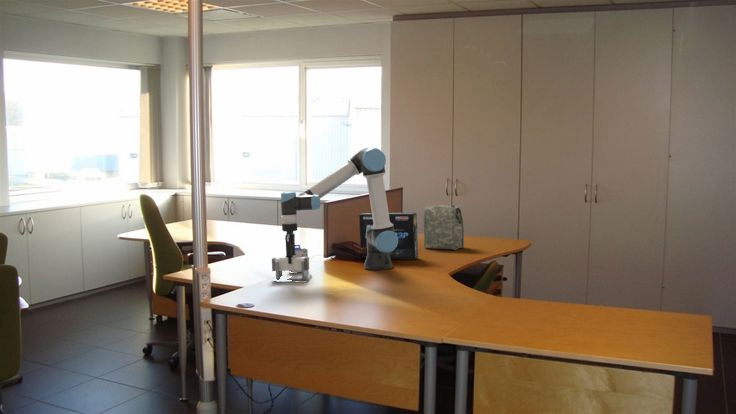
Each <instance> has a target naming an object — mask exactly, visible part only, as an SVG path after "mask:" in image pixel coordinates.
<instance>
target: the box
mask: <svg viewBox="0 0 736 414" xmlns="http://www.w3.org/2000/svg"><path fill="white" fill-rule="evenodd" d="M417 216H418V215H417V212H389V219H390V222H391V223H392V224H393V226H394V232H395V234H396V235H397V237H398V244H397V247H396V248H395V249H394V250H393V251H391V252H389V255H390V258H391V260H411V261H413V260H417V258H419V242H418V241H419V240H418V221H417V220H418V219H417ZM358 217H359V218H358V219H359V220H358V221H359V240H360V241H359V243H360V248H361V247H364V248H367V236H366V228H367V226H373V217H372V212H362V213H359V215H358Z"/></svg>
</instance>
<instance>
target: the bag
mask: <svg viewBox="0 0 736 414" xmlns="http://www.w3.org/2000/svg"><path fill="white" fill-rule="evenodd" d="M462 215H463V214H462V210H461V208H460V207H459V206H456V205H454V204H453V205H443V204H440V205H429V206H428V205H427V206H425V208H424V211H423V217H422V218H423V220H422V221H423V234H424V235H423V237H424V238H423V239H424V240H423V245H424V246H423V248H424V249H426V248H427V249H434V250H435V249H436V250H451V251H452V250H454V251H457V250H458V249H462V248H463V249H464V248H465V245H464V239H465V237H464V235H465V232H464V221H463V219H464V218H463V216H462Z"/></svg>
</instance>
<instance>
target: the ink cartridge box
mask: <svg viewBox="0 0 736 414" xmlns="http://www.w3.org/2000/svg"><path fill="white" fill-rule="evenodd" d="M308 253H309V251H308V248H301V244H295V254H296V255H294V256H295V257H309V255H308ZM307 271H309V272H310V269H309V270H307ZM291 272H302V270H297V271H291Z"/></svg>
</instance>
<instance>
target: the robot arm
mask: <svg viewBox="0 0 736 414" xmlns="http://www.w3.org/2000/svg"><path fill="white" fill-rule="evenodd" d="M386 163H387V159H386V155H385V153H384V152H383V151H382V150H381V149H379V148H377V147H366V148H363V149H362V148H361V150H359V151H358V152H357V153H355V154H354V155H353V156H351V157H350V158H349V159H347V162H346V163H345V164H344V165H342V166H341V167H339V168H337V169H336V170H335V171H333V172H332V173H330V174H329V175H328V176H326V177H324V178H323V179H321V180H320V181H318V182H317V183H316V184H314V185H312V186H311V187H310V188H308V189H306V190H305V191H304V192H301V193H299V194H298V195H297V193H296V192H295V191H284V192H282V193H281V195H280V208H281V209H280V210H281V212H280V213H281V216H280V219H281V231H283V232H286V234H285V238H284V239H285V252H286V253H285V255H286V256H285V258H287V263H288V270H293V257H295V256H294V255H296V254H295V248H296V247H295V245H296V242H295V241H296V238H295V237H296V235H295V233H294V232H296V231H298V223H297V222H298V214H297V212H298V211H315V210H316V211H317V210H319V209H320V208H321V199H322V198H323V197H326V196H327V195H328V194H329V193H330V192H332V191H334V190H335V189H336V188H338V187H340V186H341V185H342V184H344V183H345V182H347V181H348V180H350V179H352V178H353V177H354V176H356V175H357V176H359V175H360V174H362V176H363V177H364V178H365V179H366V184H367V189H368V197H369V202H370V210H371V213H372V217H373V226H367V228H366V236H367V256H366V259H365V260H364V269H366V270H368V271H369V270H371V271H380V270H381V271H382V270H389V269H392V268H393V261H392V259H391V258H390V255H389V252H391V251H393V250H394V249H395V248H396V247H397V244H398V237H397V235H396V234H395V232H394V226H393V224H392V223H391V222H390V219H389V213H390V211H389V207H388V201H387V200H388V199H387V194H386V193H387V192H386V188H385V187H386V186H385V181H384V180H385V179H384V176H385V174H386V167H385V166H386Z"/></svg>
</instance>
